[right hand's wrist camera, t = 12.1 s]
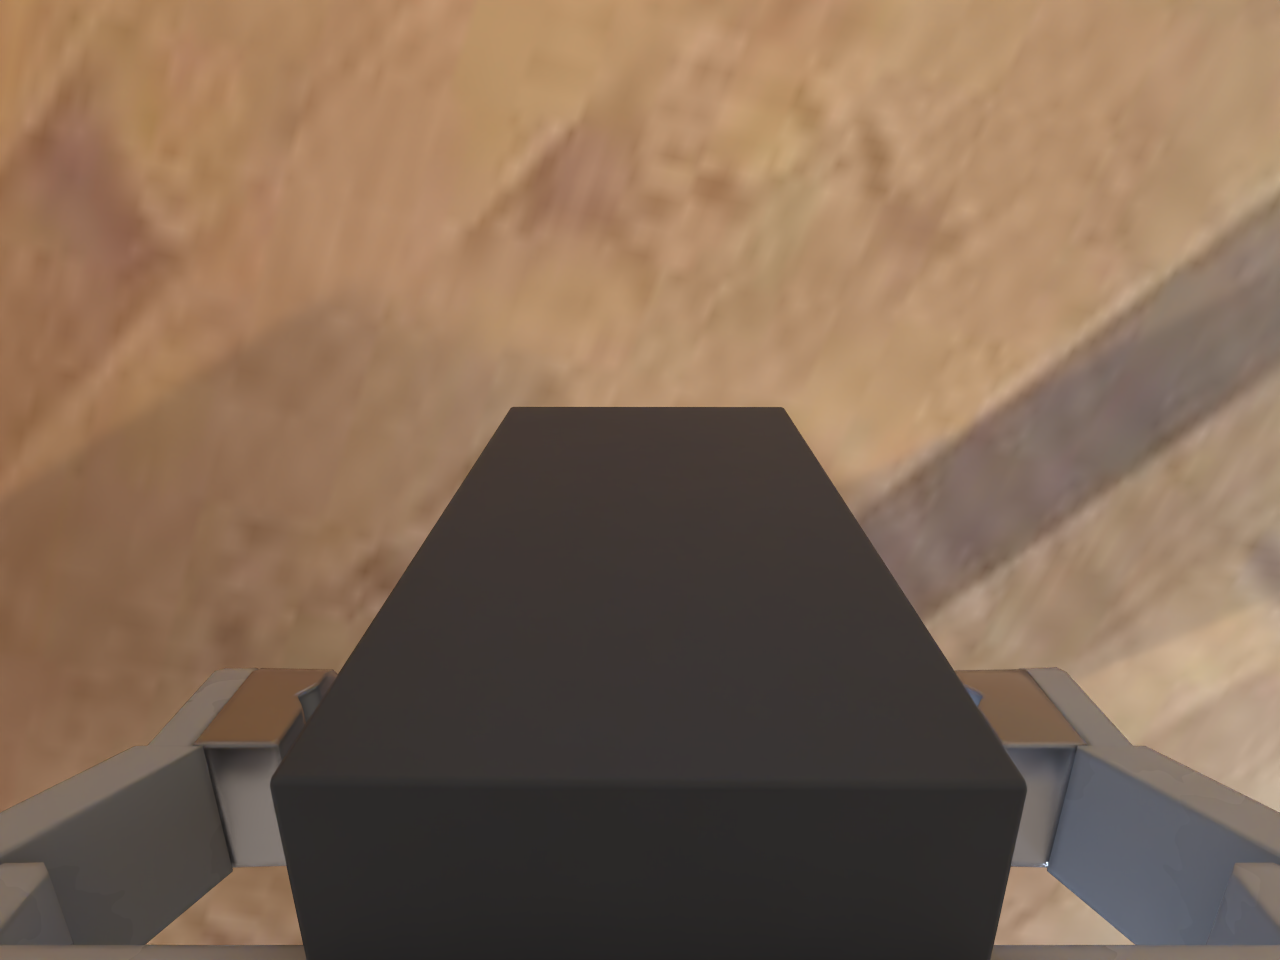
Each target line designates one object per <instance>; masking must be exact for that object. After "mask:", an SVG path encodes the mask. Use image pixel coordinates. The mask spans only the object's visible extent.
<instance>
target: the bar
mask: <svg viewBox="0 0 1280 960" xmlns="http://www.w3.org/2000/svg"><path fill="white" fill-rule="evenodd" d="M270 790H271V794H272V799H273V804H274V809H275V813H276V818H277V823H278V828H279V832H280V837H281V842H282V846H283V851H284V856H285V861H286V865H287V870H288V875H289V879H290V884H291V889H292V894H293V898H294V903H295V908H296V913H297V917H298V922H299V927H300V931H301V936H302V941H303V946H304V950H305V955H306V960H990V959H991V954H992V950H993V945H994V940H995V936H996V931H997V927H998V922H999V917H1000V913H1001V908H1002V904H1003V899H1004V895H1005V890H1006V885H1007V881H1008V876H1009V872H1010V867H1011V863H1012V858H1013V853H1014V849H1015V844H1016V840H1017V835H1018V830H1019V826H1020V821H1021V817H1022V812H1023V808H1024V803H1025V798H1026V794H1027V785H1026V781H1025V779H1024V778H1023V776H1022V775H1021V773H1020V772H1019V770H1018V769H1017V767H1016V766H1015V764H1014V762H1013V761H1012V759H1011V758H1010V756H1009V755H1008V753H1007V752H1006V750H1005V749H1004V747H1003V746H1002V744H1001V742H1000V741H999V739H998V738H997V736H996V735H995V733H994V732H993V730H992V729H991V727H990V725H989V724H988V722H987V721H986V719H985V718H984V716H983V715H982V713H981V712H980V710H979V709H978V707H977V705H976V704H975V702H974V701H973V699H972V698H971V696H970V695H969V693H968V692H967V690H966V688H965V687H964V685H963V684H962V682H961V681H960V679H959V678H958V676H957V675H956V673H955V672H954V670H953V668H952V667H951V665H950V664H949V662H948V661H947V659H946V658H945V656H944V655H943V653H942V651H941V650H940V648H939V647H938V645H937V644H936V642H935V641H934V639H933V638H932V636H931V635H930V633H929V631H928V630H927V628H926V627H925V625H924V624H923V622H922V621H921V619H920V618H919V616H918V614H917V613H916V611H915V610H914V608H913V607H912V605H911V604H910V602H909V601H908V599H907V598H906V596H905V594H904V593H903V591H902V590H901V588H900V587H899V585H898V584H897V582H896V581H895V579H894V577H893V576H892V574H891V573H890V571H889V570H888V568H887V567H886V565H885V564H884V562H883V560H882V559H881V557H880V556H879V554H878V553H877V551H876V550H875V548H874V547H873V545H872V544H871V542H870V540H869V539H868V537H867V536H866V534H865V533H864V531H863V530H862V528H861V527H860V525H859V523H858V522H857V520H856V519H855V517H854V516H853V514H852V513H851V511H850V510H849V508H848V507H847V505H846V503H845V502H844V500H843V499H842V497H841V496H840V494H839V493H838V491H837V490H836V488H835V486H834V485H833V483H832V482H831V480H830V479H829V477H828V476H827V474H826V473H825V471H824V470H823V468H822V466H821V465H820V463H819V462H818V460H817V459H816V457H815V456H814V454H813V453H812V451H811V449H810V448H809V446H808V445H807V443H806V442H805V440H804V439H803V437H802V436H801V434H800V433H799V431H798V429H797V428H796V426H795V425H794V423H793V422H792V420H791V419H790V417H789V416H788V414H787V412H786V411H785V409H784V408H782V407H512V408H511V409H510V410H509V412H508V413H507V415H506V416H505V418H504V420H503V421H502V423H501V424H500V426H499V427H498V429H497V430H496V432H495V433H494V435H493V436H492V438H491V440H490V441H489V443H488V444H487V446H486V447H485V449H484V450H483V452H482V453H481V455H480V456H479V458H478V460H477V461H476V463H475V464H474V466H473V467H472V469H471V470H470V472H469V473H468V475H467V477H466V478H465V480H464V481H463V483H462V484H461V486H460V487H459V489H458V490H457V492H456V493H455V495H454V497H453V498H452V500H451V501H450V503H449V504H448V506H447V507H446V509H445V510H444V512H443V514H442V515H441V517H440V518H439V520H438V521H437V523H436V524H435V526H434V527H433V529H432V530H431V532H430V534H429V535H428V537H427V538H426V540H425V541H424V543H423V544H422V546H421V547H420V549H419V550H418V552H417V554H416V555H415V557H414V558H413V560H412V561H411V563H410V564H409V566H408V567H407V569H406V571H405V572H404V574H403V575H402V577H401V578H400V580H399V581H398V583H397V584H396V586H395V587H394V589H393V591H392V592H391V594H390V595H389V597H388V598H387V600H386V601H385V603H384V604H383V606H382V608H381V609H380V611H379V612H378V614H377V615H376V617H375V618H374V620H373V621H372V623H371V624H370V626H369V628H368V629H367V631H366V632H365V634H364V635H363V637H362V638H361V640H360V641H359V643H358V644H357V646H356V648H355V649H354V651H353V652H352V654H351V655H350V657H349V658H348V660H347V661H346V663H345V665H344V666H343V668H342V669H341V671H340V672H339V674H338V675H337V677H336V678H335V680H334V681H333V683H332V685H331V686H330V688H329V689H328V691H327V692H326V694H325V695H324V697H323V698H322V700H321V702H320V703H319V705H318V706H317V708H316V709H315V711H314V712H313V714H312V715H311V717H310V718H309V720H308V722H307V723H306V725H305V726H304V728H303V729H302V731H301V732H300V734H299V735H298V737H297V738H296V740H295V742H294V743H293V745H292V746H291V748H290V749H289V751H288V752H287V754H286V755H285V757H284V759H283V760H282V762H281V763H280V765H279V766H278V768H277V769H276V771H275V772H274V774H273V775H272V777H271V781H270Z"/></svg>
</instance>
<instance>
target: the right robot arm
mask: <svg viewBox="0 0 1280 960" xmlns="http://www.w3.org/2000/svg"><path fill="white" fill-rule="evenodd" d="M954 672H955V673H956V675H957V676H958V678H959V679H960V681H961V682H962V684H963V685H964V687H965V688H966V690H967V692H968V693H969V695H970V696H971V698H972V699H973V701H974V702H975V704H976V705H977V707H978V709H979V710H980V712H981V713H982V715H983V716H984V718H985V719H986V721H987V722H988V724H989V725H990V727H991V729H992V730H993V732H994V733H995V735H996V736H997V738H998V739H999V741H1000V742H1001V744H1002V746H1003V747H1004V749H1005V750H1006V752H1007V753H1008V755H1009V756H1010V758H1011V759H1012V761H1013V762H1014V764H1015V766H1016V767H1017V769H1018V770H1019V772H1020V773H1021V775H1022V776H1023V778H1024V779H1025V781H1026V785H1027V794H1026V798H1025V803H1024V808H1023V812H1022V817H1021V821H1020V826H1019V830H1018V835H1017V840H1016V844H1015V849H1014V853H1013V858H1012V863H1011V866H1018V867H1048V868H1047V871H1048V872H1049V873H1050V874H1052V875H1053V876H1054V877H1055V878H1056V879H1058V880H1059V881H1060V882H1061V883H1062V884H1064V885H1065V886H1066V887H1067V888H1068V889H1070V890H1071V891H1072V892H1073V893H1074V894H1075V895H1077V896H1078V897H1079V898H1080V899H1081V900H1083V901H1084V902H1085V903H1086V904H1087V905H1089V906H1090V907H1091V908H1092V909H1093V910H1095V911H1096V912H1097V913H1098V914H1099V915H1101V916H1102V917H1103V918H1104V919H1105V920H1107V921H1108V922H1109V923H1110V924H1111V925H1112V926H1114V927H1115V928H1116V929H1117V930H1118V931H1120V932H1121V933H1122V934H1123V935H1124V936H1126V937H1127V938H1128V939H1129V940H1130V941H1132V942H1133V943H1134V944H1135V945H993V950H992V954H991V959H990V960H1280V813H1279V812H1277V811H1275V810H1273V809H1271V808H1269V807H1267V806H1265V805H1263V804H1261V803H1259V802H1257V801H1255V800H1253V799H1251V798H1249V797H1247V796H1245V795H1243V794H1241V793H1239V792H1237V791H1235V790H1233V789H1231V788H1229V787H1227V786H1225V785H1223V784H1221V783H1219V782H1217V781H1215V780H1213V779H1211V778H1209V777H1207V776H1205V775H1203V774H1201V773H1199V772H1197V771H1195V770H1193V769H1191V768H1189V767H1187V766H1185V765H1183V764H1181V763H1179V762H1177V761H1175V760H1173V759H1171V758H1169V757H1167V756H1165V755H1163V754H1161V753H1159V752H1157V751H1155V750H1153V749H1150V748H1148V747H1146V746H1133V745H1132V744H1131V743H1130V742H1129V741H1128V740H1127V739H1126V738H1125V737H1124V735H1123V734H1122V733H1121V732H1120V731H1119V730H1118V729H1117V728H1116V727H1115V725H1114V724H1113V723H1112V722H1111V721H1110V720H1109V719H1108V718H1107V717H1106V715H1105V714H1104V713H1103V712H1102V711H1101V710H1100V709H1099V708H1098V707H1097V706H1096V704H1095V703H1094V702H1093V701H1092V700H1091V699H1090V698H1089V697H1088V696H1087V694H1086V693H1085V692H1084V691H1083V690H1082V689H1081V688H1080V687H1079V686H1078V685H1077V683H1076V682H1075V681H1074V680H1073V679H1072V678H1071V677H1070V676H1069V675H1068V673H1067V672H1065V671H1063V670H1061V669H1059V668H1057V667H1054V668H1025V669H1014V670H954ZM337 675H338V674H337V673H336V672H335V671H334V670H327V669H280V668H261V669H258V668H223V669H220V670H217V671H214V672H213V673H212V675H211V676H210V677H209V678H208V679H207V680H206V681H205V682H204V683H203V685H202V686H201V687H200V688H199V689H198V690H197V691H196V692H195V693H194V694H193V696H192V697H191V698H190V699H189V700H188V701H187V702H186V703H185V704H184V706H183V707H182V708H181V709H180V710H179V711H178V712H177V713H176V714H175V715H174V717H173V718H172V719H171V720H170V721H169V722H168V723H167V724H166V725H165V727H164V728H163V729H162V730H161V731H160V732H159V733H158V734H157V735H156V736H155V738H154V739H153V740H152V741H151V742H150V743H149V744H148V745H147V746H134V747H132V748H129V749H127V750H125V751H123V752H121V753H119V754H117V755H115V756H113V757H111V758H109V759H107V760H105V761H103V762H101V763H99V764H97V765H95V766H93V767H91V768H89V769H87V770H85V771H83V772H81V773H79V774H77V775H75V776H73V777H71V778H69V779H67V780H65V781H63V782H61V783H59V784H57V785H55V786H53V787H51V788H49V789H47V790H45V791H43V792H41V793H39V794H37V795H35V796H33V797H31V798H29V799H27V800H25V801H23V802H21V803H19V804H17V805H15V806H13V807H11V808H9V809H7V810H5V811H3V812H0V960H306V955H305V950H304V946H303V945H145V944H146V943H147V942H149V941H150V940H151V939H152V938H153V937H155V936H156V935H157V934H158V933H159V932H161V931H162V930H163V929H164V928H165V927H167V926H168V925H169V924H170V923H171V922H173V921H174V920H175V919H176V918H177V917H179V916H180V915H181V914H182V913H183V912H184V911H186V910H187V909H188V908H189V907H190V906H192V905H193V904H194V903H195V902H196V901H198V900H199V899H200V898H201V897H202V896H204V895H205V894H206V893H207V892H208V891H210V890H211V889H212V888H213V887H214V886H216V885H217V884H218V883H219V882H220V881H222V880H223V879H224V878H225V877H226V876H228V875H229V874H230V873H231V872H232V871H233V869H232V867H261V866H287V865H286V861H285V856H284V851H283V846H282V842H281V837H280V832H279V828H278V823H277V818H276V813H275V809H274V804H273V799H272V794H271V790H270V781H271V777H272V775H273V774H274V772H275V771H276V769H277V768H278V766H279V765H280V763H281V762H282V760H283V759H284V757H285V755H286V754H287V752H288V751H289V749H290V748H291V746H292V745H293V743H294V742H295V740H296V738H297V737H298V735H299V734H300V732H301V731H302V729H303V728H304V726H305V725H306V723H307V722H308V720H309V718H310V717H311V715H312V714H313V712H314V711H315V709H316V708H317V706H318V705H319V703H320V702H321V700H322V698H323V697H324V695H325V694H326V692H327V691H328V689H329V688H330V686H331V685H332V683H333V681H334V680H335V678H336V677H337Z"/></svg>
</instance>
